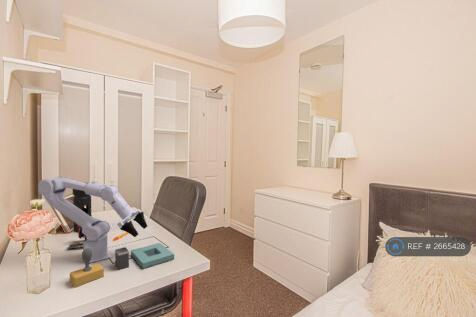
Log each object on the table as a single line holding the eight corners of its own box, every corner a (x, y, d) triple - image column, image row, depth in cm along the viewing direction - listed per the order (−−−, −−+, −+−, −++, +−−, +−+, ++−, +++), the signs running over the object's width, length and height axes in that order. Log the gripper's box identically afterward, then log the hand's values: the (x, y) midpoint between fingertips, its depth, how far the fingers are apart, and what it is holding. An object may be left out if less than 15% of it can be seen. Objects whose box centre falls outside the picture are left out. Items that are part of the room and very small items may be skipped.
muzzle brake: (69, 230, 141) (77, 234, 135) (69, 183, 140) (76, 185, 134) (87, 225, 149) (94, 229, 143) (86, 181, 148) (94, 183, 142)
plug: (118, 270, 98) (118, 253, 98) (115, 265, 102) (115, 249, 101) (129, 267, 101) (128, 251, 100) (125, 262, 104) (125, 247, 104)
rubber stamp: (98, 271, 97) (98, 242, 96) (104, 276, 93) (104, 246, 92) (69, 281, 89) (69, 250, 89) (74, 288, 85) (74, 255, 85)
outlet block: (143, 269, 99) (143, 263, 99) (130, 255, 111) (130, 250, 111) (174, 259, 108) (174, 254, 108) (159, 247, 120) (159, 242, 120)
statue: (74, 244, 125) (74, 215, 125) (94, 242, 127) (94, 214, 128) (66, 250, 114) (66, 219, 115) (88, 248, 117) (88, 217, 118)
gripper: (117, 210, 100) (138, 235, 100) (137, 198, 114) (155, 219, 114) (107, 218, 101) (127, 243, 102) (127, 205, 115) (145, 227, 116)
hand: (141, 231), depth 108 cm, fingers open, 7 cm apart
